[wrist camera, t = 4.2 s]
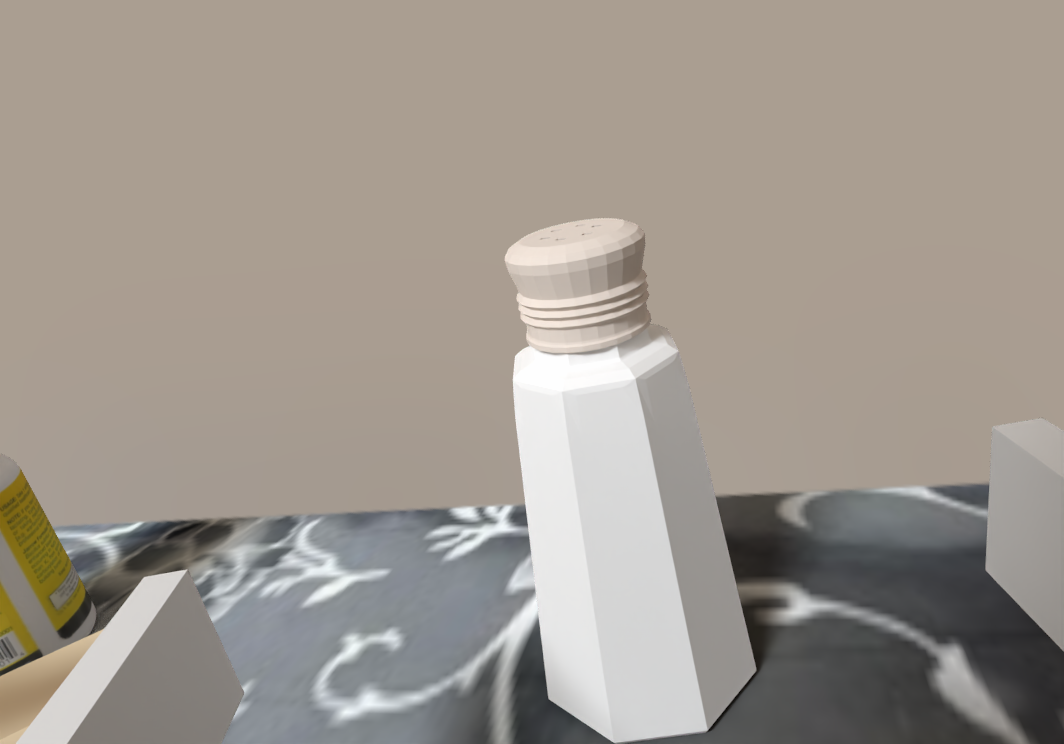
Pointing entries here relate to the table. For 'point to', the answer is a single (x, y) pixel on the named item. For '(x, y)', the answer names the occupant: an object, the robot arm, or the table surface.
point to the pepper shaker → (619, 496)
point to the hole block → (35, 687)
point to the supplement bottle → (35, 579)
